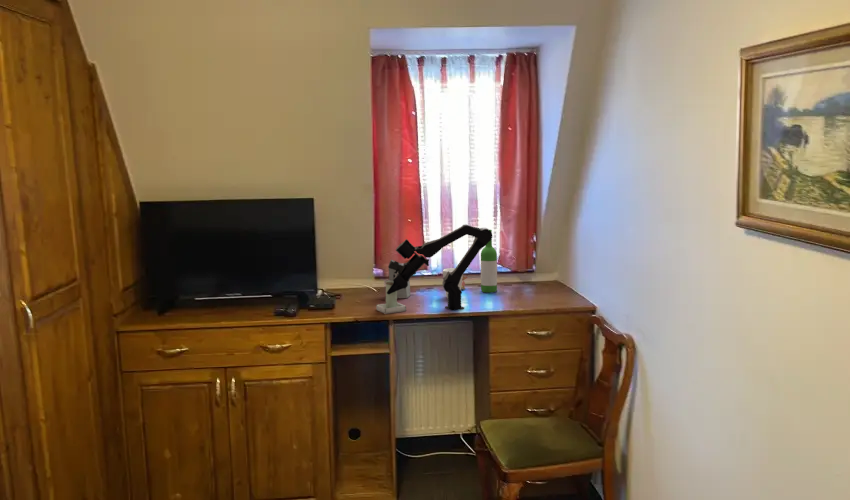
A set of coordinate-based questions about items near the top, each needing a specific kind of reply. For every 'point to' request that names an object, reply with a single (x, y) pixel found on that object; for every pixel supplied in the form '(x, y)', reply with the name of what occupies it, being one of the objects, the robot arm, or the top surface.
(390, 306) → the peg
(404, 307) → the tray
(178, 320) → the top surface
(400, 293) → the skincare box
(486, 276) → the wine bottle
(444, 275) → the foam cup
